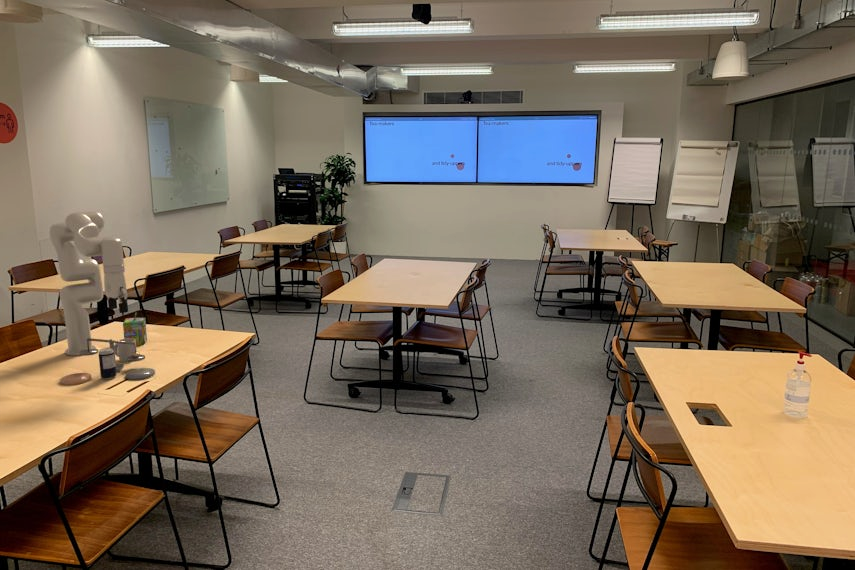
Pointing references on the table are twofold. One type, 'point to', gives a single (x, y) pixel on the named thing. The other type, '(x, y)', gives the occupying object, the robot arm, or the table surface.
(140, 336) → the green printed box
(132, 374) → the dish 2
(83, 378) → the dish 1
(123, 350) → the cup
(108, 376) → the beverage can
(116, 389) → the table surface
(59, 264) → the robot arm
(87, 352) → the balance
